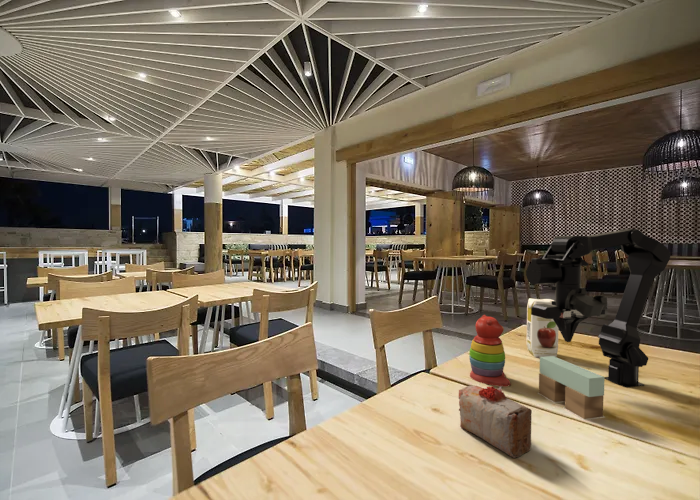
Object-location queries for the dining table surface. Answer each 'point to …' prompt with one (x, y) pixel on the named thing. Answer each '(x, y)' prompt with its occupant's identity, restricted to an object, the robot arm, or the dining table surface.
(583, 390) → the beam
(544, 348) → the juice carton
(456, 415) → the dining table surface
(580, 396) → the pillar
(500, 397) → the food item
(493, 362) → the stacking bear
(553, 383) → the pillar
